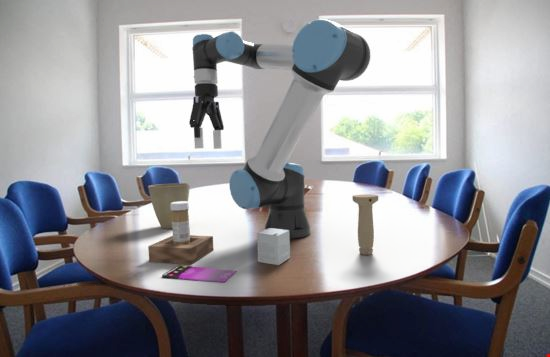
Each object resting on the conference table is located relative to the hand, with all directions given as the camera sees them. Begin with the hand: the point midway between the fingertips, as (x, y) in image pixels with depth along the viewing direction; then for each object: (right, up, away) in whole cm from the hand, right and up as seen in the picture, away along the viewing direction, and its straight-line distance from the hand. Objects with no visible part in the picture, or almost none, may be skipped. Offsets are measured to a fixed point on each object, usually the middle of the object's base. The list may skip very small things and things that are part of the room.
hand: (209, 148), depth 112 cm
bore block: (-2, -31, -24) cm, 39 cm away
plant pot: (-17, -29, +13) cm, 36 cm away
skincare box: (+22, -31, -30) cm, 48 cm away
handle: (+46, -30, -27) cm, 61 cm away
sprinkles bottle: (-2, -30, -24) cm, 38 cm away
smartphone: (+6, -32, -38) cm, 50 cm away
